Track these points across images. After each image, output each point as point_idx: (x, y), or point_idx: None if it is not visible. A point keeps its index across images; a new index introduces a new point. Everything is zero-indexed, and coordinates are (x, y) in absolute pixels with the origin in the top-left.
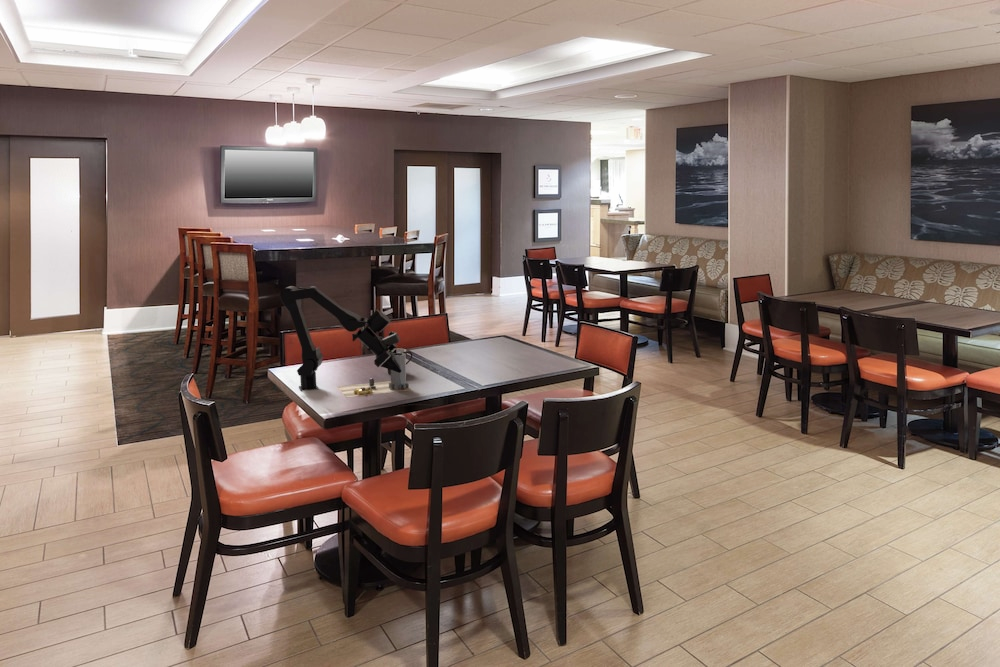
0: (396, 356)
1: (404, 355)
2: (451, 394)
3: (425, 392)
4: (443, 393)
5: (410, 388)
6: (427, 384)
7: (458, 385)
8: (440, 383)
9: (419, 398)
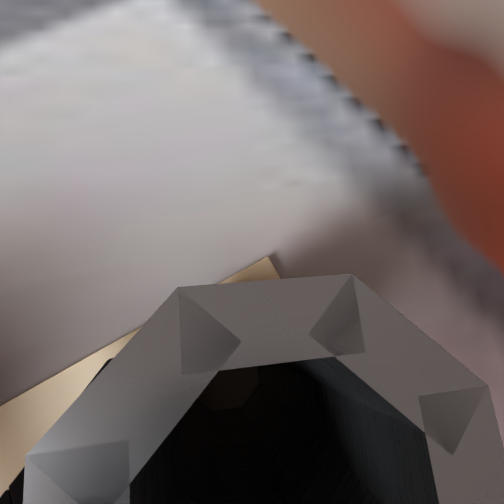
0: (493, 488)
1: (350, 282)
2: (292, 47)
3: (273, 180)
4: (279, 85)
5: (231, 281)
6: (68, 196)
7: (94, 18)
8: (40, 117)
9: (399, 194)
